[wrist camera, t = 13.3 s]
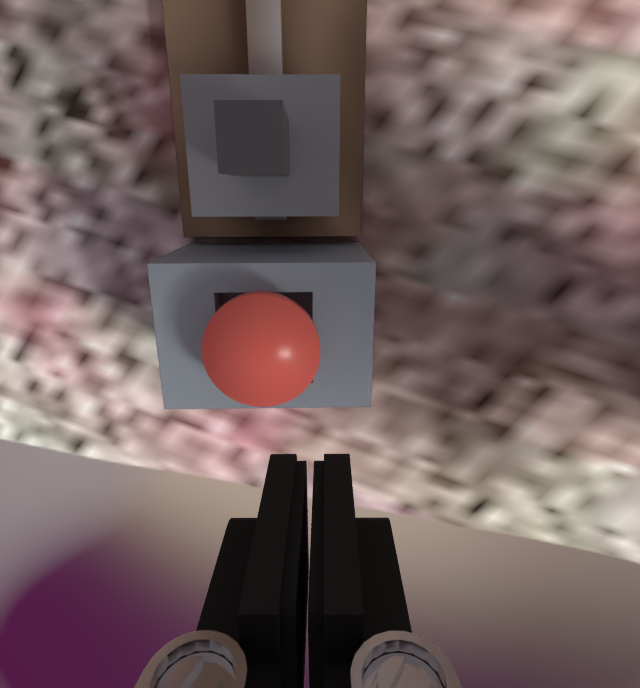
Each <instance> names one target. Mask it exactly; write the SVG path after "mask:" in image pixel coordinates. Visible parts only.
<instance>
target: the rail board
mask: <svg viewBox="0 0 640 688" xmlns="http://www.w3.org/2000/svg"><path fill="white" fill-rule="evenodd" d="M162 6H163V17H164V27H165V38H166V49H167V60H168V70H169V81H170V92H171V103H172V114H173V124H174V135H175V146H176V157H177V167H178V178H179V189H180V200H181V211H182V221H183V232H184V237H304V236H361V221H362V180H363V139H364V99H365V58H366V17H367V0H162ZM180 74H331V75H340V160H339V216H264V217H192V210H191V199H190V187H189V175H188V164H187V152H186V141H185V129H184V117H183V106H182V94H181V83H180Z"/></svg>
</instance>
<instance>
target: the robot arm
mask: <svg viewBox="0 0 640 688" xmlns="http://www.w3.org/2000/svg"><path fill="white" fill-rule="evenodd" d="M307 514H308V509H307V465H306V461H297V455H296V454H271V455H270V460H269V464H268V469H267V474H266V479H265V483H264V488H263V493H262V498H261V503H260V507H259V512H258V517H257V518H231V519H230V520H229V523H228V525H227V528H226V531H225V535H224V539H223V542H222V545H221V548H220V552H219V556H218V559H217V562H216V565H215V569H214V572H213V576H212V579H211V582H210V586H209V589H208V593H207V596H206V599H205V603H204V606H203V609H202V613H201V616H200V620H199V623H198V626H197V630H196V631H195V632H191V633H187V634H184V635H182V636H180V637H178V638H176V639H174V640H173V641H170V642H169V643H167V644H166V645H165V646H164V647H163V648H162V649H160V650H159V651H158V652H157V653H156V654H155V655H154V656H153V658H152V659H151V660H150V662H149V663H148V665H147V666H146V668H145V669H144V671H143V673H142V674H141V676H140V678H139V680H138V682H137V684H136V686H135V688H304V673H305V649H306V627H307V626H306V625H307V603H308V642H309V643H308V645H309V684H310V685H309V686H310V688H462V686H461V684H460V682H459V679H458V677H457V674H456V672H455V670H454V668H453V666H452V665H451V663H450V661H449V660H448V658H447V656H446V655H445V654H444V653H443V652H442V651H441V650H440V649H439V648H438V647H437V646H436V645H435V644H434V643H432V642H430V641H428V640H427V639H425V638H423V637H421V636H420V635H417V634H413V633H412V631H411V626H410V621H409V615H408V610H407V605H406V600H405V595H404V590H403V585H402V580H401V575H400V570H399V565H398V559H397V554H396V549H395V544H394V539H393V534H392V529H391V524H390V520H389V519H388V518H355V509H354V498H353V487H352V476H351V465H350V455H349V454H324V461H314V477H313V501H312V524H311V526H312V527H311V549H310V572H309V557H308V556H309V555H308V515H307ZM308 580H309V597H308ZM308 598H309V599H308Z"/></svg>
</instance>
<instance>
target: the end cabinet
mask: <svg viewBox="0 0 640 688" xmlns="http://www.w3.org/2000/svg"><path fill="white" fill-rule="evenodd" d="M147 269H148V277H149V286H150V294H151V302H152V311H153V319H154V327H155V336H156V344H157V353H158V361H159V369H160V378H161V386H162V394H163V403H164V409H227V408H315V407H371V394H372V366H373V337H374V309H375V280H376V262H375V261H374V259H373V258H372V257H371V256H370V255H369V254H368V253H367V252H366V250H365V249H364V248H363V247H362V246H361V245H360V244H359V242H313V243H190V244H188V245H186V246H184V247H182V248H180V249H177V250H175V251H173V252H171V253H169V254H167V255H165V256H162V257H160V258H158V259H156V260H154V261H152V262H150V263H147ZM253 291H269V292H274V293H278V294H281V295H284V296H286V297H288V298H290V299H292V300H293V301H295V302H296V303H298V304H299V305H300V306H301V307H303V308H304V310H305V311H306V312H307V313H308V314H309V316H310V317H311V318H312V320H313V322H314V324H315V326H316V329H317V331H318V335H319V341H320V362H319V366H318V369H317V372H316V375H315V377H314V378H313V380H312V382H311V383H310V385H309V386H308V387H307V388H306V389H305V390H304V391H303V392H302V393H301V394H300V395H298V396H297V397H295V398H294V399H292V400H290V401H288V402H286V403H283V404H280V405H276V406H270V407H255V406H249V405H246V404H242V403H240V402H237V401H235V400H233V399H231V398H229V397H228V396H226V395H225V394H224V393H222V392H221V391H220V390H219V389H218V388H217V387H216V386H215V385H214V383H213V382H212V381H211V379H210V378H209V376H208V374H207V372H206V370H205V367H204V364H203V360H202V352H201V346H202V338H203V335H204V331H205V329H206V327H207V325H208V323H209V321H210V320H211V318H212V317H213V316H214V314H215V313H216V312H217V311H218V309H219V308H220V307H221V306H222V305H224V304H225V303H226V302H227V301H229V300H230V299H232V298H234V297H236V296H238V295H241V294H244V293H248V292H253Z"/></svg>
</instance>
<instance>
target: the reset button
mask: <svg viewBox="0 0 640 688" xmlns="http://www.w3.org/2000/svg"><path fill="white" fill-rule="evenodd" d="M201 352H202V360H203V364H204V367H205V370H206V372H207V374H208V376H209V378H210V379H211V381H212V382H213V383H214V385H215V386H216V387H217V388H218V389H219V390H220V391H221V392H222V393H224V394H225V395H226V396H228V397H229V398H231V399H233V400H235V401H237V402H240V403H242V404H246V405H249V406H255V407H270V406H276V405H280V404H283V403H286V402H288V401H290V400H292V399H294V398H295V397H297V396H298V395H300V394H301V393H302V392H303V391H304V390H305V389H306V388H307V387H308V386H309V385H310V383H311V382H312V380H313V378H314V377H315V375H316V372H317V369H318V366H319V362H320V341H319V335H318V331H317V329H316V326H315V324H314V322H313V320H312V318H311V317H310V316H309V314H308V313H307V312H306V311H305V310H304V308H303V307H301V306H300V305H299V304H298V303H296V302H295V301H293V300H292V299H290V298H288V297H286V296H284V295H281V294H278V293H274V292H269V291H253V292H248V293H244V294H241V295H238V296H236V297H234V298H232V299H230V300H229V301H227V302H226V303H225V304H224V305H222V306H221V307H220V308H219V309H218V311H217V312H216V313H215V314H214V316H213V317H212V318H211V320H210V321H209V323H208V325H207V327H206V329H205V331H204V335H203V338H202V346H201Z"/></svg>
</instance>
